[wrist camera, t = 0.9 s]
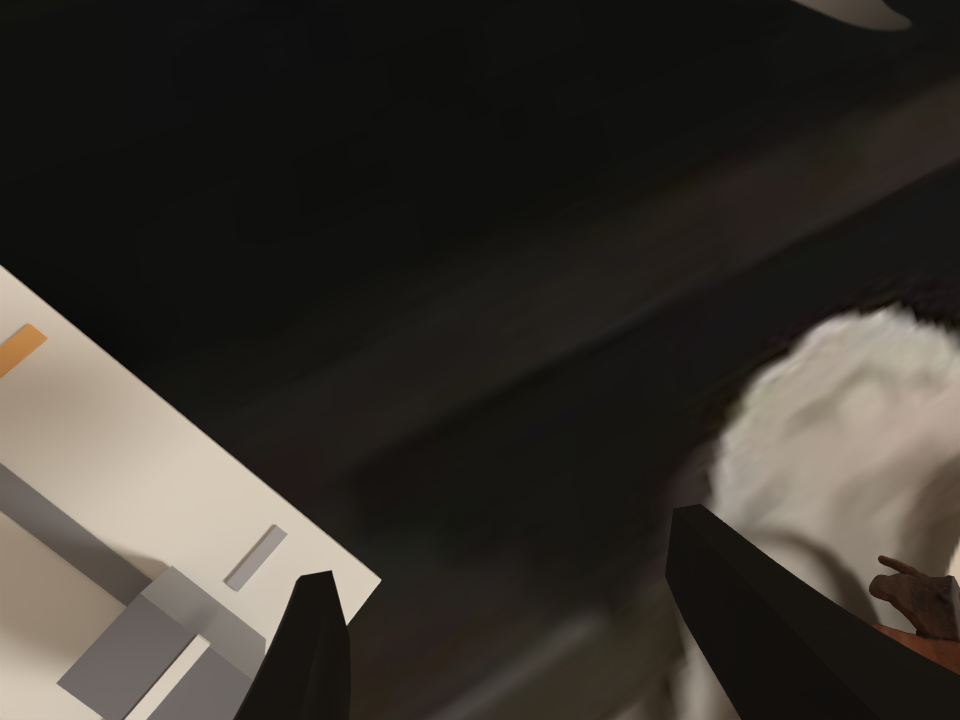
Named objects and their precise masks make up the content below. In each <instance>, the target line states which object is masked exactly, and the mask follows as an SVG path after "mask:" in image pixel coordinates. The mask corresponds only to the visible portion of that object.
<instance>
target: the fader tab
mask: <svg viewBox="0 0 960 720" xmlns="http://www.w3.org/2000/svg"><path fill="white" fill-rule="evenodd" d="M265 647H266V639H265V638H264V637H263V636H261V635H260V634H259V633H258V632H256V631H255V630H254V629H253V628H251V627H250V626H249V625H247V624H246V623H245V622H244V621H242V620H241V619H240V618H239V617H237V616H236V615H235V614H233V613H232V612H231V611H230V610H228V609H227V608H226V607H224V606H223V605H222V604H221V603H219V602H218V601H217V600H216V599H214V598H213V597H212V596H210V595H209V594H208V593H207V592H205V591H204V590H203V589H201V588H200V587H199V586H198V585H196V584H195V583H194V582H193V581H191V580H190V579H189V578H187V577H186V576H185V575H184V574H182V573H181V572H180V571H178V570H177V569H176V568H175V567H173V566H171V567H169V568H168V569H167V570H166V571H165V572H164V573H163V574H161V575H160V576H159V577H158V578H157V579H156V580H154V581H153V582H152V583H151V584H150V585H149V586H147V587H146V588H145V589H144V590H143V591H142V592H141V593H139V595H138V596H137V597H136V598H135V599H134V600H133V601H132V602H131V603H130V604H129V605H128V606H127V607H126V609H125V610H124V611H123V612H122V613H121V614H120V615H119V616H118V617H117V618H116V619H115V620H114V621H113V623H112V624H111V625H110V626H109V627H108V628H107V629H106V630H105V631H104V632H103V633H102V634H101V635H100V637H99V638H98V639H97V640H96V641H95V642H94V643H93V644H92V645H91V646H90V647H89V648H88V649H87V651H86V652H85V653H84V654H83V655H82V656H81V657H80V658H79V659H78V660H77V661H76V662H75V663H74V664H73V666H72V667H71V668H70V669H69V670H68V671H67V672H66V673H65V674H64V675H63V676H62V677H61V678H60V680H59V681H58V682H57V683H56V684H57V685H59V686H60V687H62V688H63V689H64V690H66V691H67V692H68V693H70V694H71V695H73V696H74V697H75V698H77V699H78V700H79V701H81V702H82V703H83V704H85V705H86V706H88V707H89V708H90V709H92V710H93V711H94V712H96V713H97V714H99V715H100V716H101V717H103V718H104V719H105V720H233V719H234V717H235V715H236V713H237V711H238V709H239V707H240V706H241V704H242V702H243V700H244V698H245V696H246V694H247V692H248V690H249V688H250V686H251V684H252V682H253V680H254V678H255V676H256V674H257V672H258V670H259V668H260V666H261V664H262V661H263V659H264V657H265Z"/></svg>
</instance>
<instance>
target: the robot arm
mask: <svg viewBox="0 0 960 720" xmlns="http://www.w3.org/2000/svg"><path fill="white" fill-rule="evenodd" d="M665 577H666V579H667V582H668V584H669V586H670V589H671V591H672V594H673V596H674V598H675V601H676V603H677V605H678V608H679V610H680V612H681V614H682V616H683V619H684V621H685V623H686V625H687V626H688V628H689V630H690V632H691V634H692V635H693V637H694V639H695V641H696V642H697V644H698V646H699V648H700V649H701V651H702V653H703V655H704V656H705V658H706V660H707V661H708V663H709V665H710V667H711V668H712V670H713V672H714V673H715V675H716V677H717V679H718V680H719V682H720V684H721V685H722V687H723V689H724V691H725V692H726V694H727V696H728V697H729V699H730V701H731V703H732V704H733V706H734V708H735V709H736V711H737V713H738V715H739V716H740V718H741V720H960V675H959V674H957V673H955V672H953V671H951V670H949V669H947V668H945V667H943V666H941V665H939V664H938V663H936V662H934V661H932V660H930V659H928V658H926V657H924V656H922V655H921V654H919V653H917V652H915V651H913V650H911V649H910V648H908V647H906V646H904V645H903V644H901V643H899V642H898V641H896V640H894V639H892V638H891V637H889V636H887V635H886V634H884V633H882V632H880V631H879V630H877V629H875V628H874V627H872V626H870V625H869V624H867V623H865V622H864V621H862V620H860V619H859V618H857V617H856V616H854V615H852V614H851V613H849V612H848V611H846V610H845V609H843V608H842V607H840V606H839V605H837V604H836V603H834V602H833V601H831V600H830V599H828V598H827V597H825V596H824V595H822V594H821V593H819V592H818V591H816V590H815V589H813V588H812V587H810V586H809V585H807V584H806V583H805V582H803V581H802V580H800V579H799V578H797V577H796V576H795V575H793V574H792V573H791V572H789V571H788V570H786V569H785V568H784V567H782V566H781V565H780V564H778V563H777V562H775V561H774V560H773V559H771V558H770V557H769V556H767V555H766V554H765V553H763V552H762V551H761V550H759V549H758V548H757V547H756V546H754V545H753V544H752V543H750V542H749V541H748V540H746V539H745V538H744V537H742V536H741V535H740V534H739V533H737V532H736V531H735V530H733V529H732V528H731V527H730V526H728V525H727V524H726V523H724V522H723V521H722V520H721V519H719V518H718V517H717V516H715V515H714V514H713V513H712V512H710V511H709V510H708V509H706V508H705V507H704V506H702V505H701V504H697V505H691V506H686V507H680V508H675V509H673V517H672V524H671V532H670V540H669V548H668V556H667V564H666V572H665ZM350 696H351V671H350V638H349V633H348V629H347V626H346V622H345V618H344V614H343V610H342V607H341V603H340V599H339V595H338V591H337V588H336V584H335V580H334V576H333V572H332V570H329V571H324V572H318V573H312V574H307V575H301V576H300V577H299V578H298V579H297V580H296V583H295V585H294V588H293V591H292V594H291V596H290V599H289V602H288V604H287V607H286V609H285V612H284V614H283V617H282V619H281V622H280V624H279V626H278V629H277V631H276V633H275V635H274V638H273V640H272V642H271V645H270V647H269V649H268V651H267V653H266V655H265V657H264V659H263V661H262V664H261V666H260V668H259V670H258V672H257V674H256V676H255V678H254V680H253V682H252V684H251V686H250V688H249V690H248V692H247V694H246V696H245V698H244V700H243V702H242V704H241V706H240V707H239V709H238V711H237V713H236V715H235V717H234V719H233V720H349V710H350Z"/></svg>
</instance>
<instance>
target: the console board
mask: <svg viewBox="0 0 960 720" xmlns="http://www.w3.org/2000/svg"><path fill="white" fill-rule="evenodd" d="M171 566H173V567H175V568H176V569H177V570H178V571H180V572H181V573H182V574H184V575H185V576H186V577H187V578H189V579H190V580H191V581H193V582H194V583H195V584H196V585H198V586H199V587H200V588H201V589H203V590H204V591H205V592H207V593H208V594H209V595H210V596H212V597H213V598H214V599H216V600H217V601H218V602H219V603H221V604H222V605H223V606H224V607H226V608H227V609H228V610H230V611H231V612H232V613H233V614H235V615H236V616H237V617H239V618H240V619H241V620H242V621H244V622H245V623H246V624H247V625H249V626H250V627H251V628H253V629H254V630H255V631H256V632H258V633H259V634H260V635H261V636H263V637H264V638H265V639H266V647H265V655H266V653H267V651H268V649H269V647H270V645H271V642H272V640H273V638H274V635H275V633H276V631H277V629H278V626H279V624H280V622H281V619H282V617H283V614H284V612H285V609H286V607H287V604H288V602H289V599H290V596H291V594H292V591H293V588H294V585H295V583H296V580H297V579H298V578H299V577H300V576H301V575H307V574H312V573H318V572H324V571H329V570H332V572H333V576H334V580H335V584H336V588H337V591H338V595H339V599H340V603H341V607H342V610H343V614H344V618H345V622H346V626H347V624H348V623H349V622H350V620H351V619H352V618H353V616H354V615H355V614H356V613H357V611H358V610H359V609H360V607H361V606H362V605H363V603H364V602H365V601H366V600H367V598H368V597H369V596H370V594H371V593H372V592H373V590H374V589H375V588H376V587H377V585H378V584H379V583H380V581H381V579H380V578H379V577H378V576H377V575H376V574H375V573H374V572H373V571H371V570H370V569H369V568H368V567H366V566H365V565H364V564H363V563H362V562H360V561H359V560H358V559H357V558H356V557H354V556H353V555H352V554H351V553H349V552H348V551H347V550H346V549H345V548H343V547H342V546H341V545H340V544H339V543H337V542H336V541H335V540H334V539H333V538H331V537H330V536H329V535H328V534H326V533H325V532H324V531H323V530H322V529H320V528H319V527H318V526H317V525H316V524H314V523H313V522H312V521H311V520H309V519H308V518H307V517H306V516H305V515H303V514H302V513H301V512H300V511H299V510H297V509H296V508H295V507H294V506H292V505H291V504H290V503H289V502H288V501H286V500H285V499H284V498H283V497H282V496H280V495H279V494H278V493H277V492H276V491H274V490H273V489H272V488H271V487H269V486H268V485H267V484H266V483H265V482H263V481H262V480H261V479H260V478H259V477H257V476H256V475H255V474H254V473H252V472H251V471H250V470H249V469H248V468H246V467H245V466H244V465H243V464H242V463H240V462H239V461H238V460H237V459H235V458H234V457H233V456H232V455H231V454H229V453H228V452H227V451H226V450H225V449H223V448H222V447H221V446H220V445H219V444H217V443H216V442H215V441H214V440H212V439H211V438H210V437H209V436H208V435H206V434H205V433H204V432H203V431H202V430H200V429H199V428H198V427H197V426H195V425H194V424H193V423H192V422H191V421H189V420H188V419H187V418H186V417H185V416H183V415H182V414H181V413H180V412H178V411H177V410H176V409H175V408H174V407H172V406H171V405H170V404H169V403H168V402H166V401H165V400H164V399H163V398H162V397H160V396H159V395H158V394H157V393H155V392H154V391H153V390H152V389H151V388H149V387H148V386H147V385H146V384H145V383H143V382H142V381H141V380H140V379H138V378H137V377H136V376H135V375H134V374H132V373H131V372H130V371H129V370H128V369H126V368H125V367H124V366H123V365H121V364H120V363H119V362H118V361H117V360H115V359H114V358H113V357H112V356H111V355H109V354H108V353H107V352H106V351H105V350H103V349H102V348H101V347H100V346H98V345H97V344H96V343H95V342H94V341H92V340H91V339H90V338H89V337H88V336H86V335H85V334H84V333H83V332H81V331H80V330H79V329H78V328H77V327H75V326H74V325H73V324H72V323H71V322H69V321H68V320H67V319H66V318H64V317H63V316H62V315H61V314H60V313H58V312H57V311H56V310H55V309H54V308H52V307H51V306H50V305H49V304H48V303H46V302H45V301H44V300H43V299H41V298H40V297H39V296H38V295H37V294H35V293H34V292H33V291H32V290H31V289H29V288H28V287H27V286H26V285H24V284H23V283H22V282H21V281H20V280H18V279H17V278H16V277H15V276H14V275H12V274H11V273H10V272H9V271H8V270H6V269H5V268H4V267H3V266H1V265H0V720H105V719H104V718H103V717H101V716H100V715H99V714H97V713H96V712H94V711H93V710H92V709H90V708H89V707H88V706H86V705H85V704H83V703H82V702H81V701H79V700H78V699H77V698H75V697H74V696H73V695H71V694H70V693H68V692H67V691H66V690H64V689H63V688H62V687H60V686H59V685H57V684H56V683H57V682H58V681H59V680H60V678H61V677H62V676H63V675H64V674H65V673H66V672H67V671H68V670H69V669H70V668H71V667H72V666H73V664H74V663H75V662H76V661H77V660H78V659H79V658H80V657H81V656H82V655H83V654H84V653H85V652H86V651H87V649H88V648H89V647H90V646H91V645H92V644H93V643H94V642H95V641H96V640H97V639H98V638H99V637H100V635H101V634H102V633H103V632H104V631H105V630H106V629H107V628H108V627H109V626H110V625H111V624H112V623H113V621H114V620H115V619H116V618H117V617H118V616H119V615H120V614H121V613H122V612H123V611H124V610H125V609H126V607H127V606H128V605H129V604H130V603H131V602H132V601H133V600H134V599H135V598H136V597H137V596H138V595H139V593H141V592H142V591H143V590H144V589H145V588H146V587H147V586H149V585H150V584H151V583H152V582H153V581H154V580H156V579H157V578H158V577H159V576H160V575H161V574H163V573H164V572H165V571H166V570H167V569H168V568H169V567H171Z"/></svg>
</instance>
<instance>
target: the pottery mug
mask: <svg viewBox="0 0 960 720" xmlns="http://www.w3.org/2000/svg"><path fill="white" fill-rule="evenodd" d="M878 561H879V562H880V563H881V564H883V565H885V566H888V567H891V568H893V569H895V570H896V571H898V572H900V573H899V574H894V575H891V576H886V575H877V576H876V577H875V578H874V579H873V581H872V582H871V584H870V586H869V592H870V594H871V595H873V596H874V597H876V598H878V599H882V600H885V601H889V602H890V603H891V604H892V605H893V606H894V607H895V608H896V609H898V610H899V611H900V612H901V613H902V614H903V615H904V616H905V617H906V618H907V619H908V620H909V621H910V622H911V623H912V624H913V626H914V627H915V628H916V629H917V631H916V635H915V634H912V633H906V632H903V631H900V630H897V629H893V628H889V627H887V626H883V625H880V624H874V625H873V626H872V627H874V628H875V629H877V630H879V631H880V632H882V633H884V634H886V635H887V636H889V637H891V638H892V639H894V640H896V641H898V642H899V643H901V644H903V645H904V646H906V647H908V648H910V649H911V650H913V651H915V652H917V653H919V654H921V655H922V656H924V657H926V658H928V659H930V660H932V661H934V662H936V663H938V664H939V665H941V666H943V667H945V668H947V669H949V670H951V671H953V672H955V673H957V674H959V675H960V587H959V586H958V583H957V581H956V579H955V577H954V576H950V575H948V576H945V577H931V578H930V577H928V576H926V575H925V574H922V573H920V572H918V571H917V570H915V569H914V568H913V567H910V566H908V565H906V564H904V563H902V562H900V561H898V560H895V559H892V558H888V557H885V556H879V557H878Z"/></svg>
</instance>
